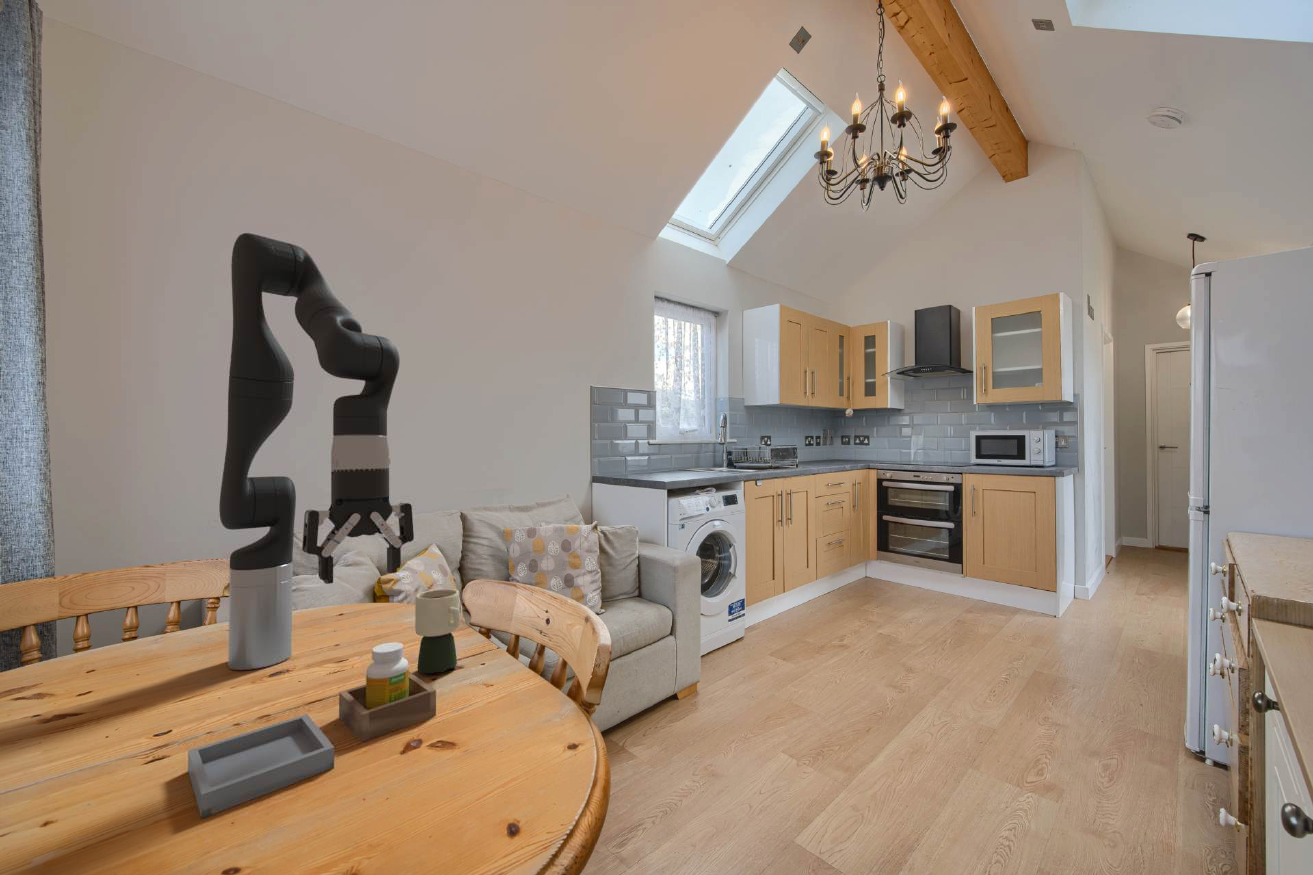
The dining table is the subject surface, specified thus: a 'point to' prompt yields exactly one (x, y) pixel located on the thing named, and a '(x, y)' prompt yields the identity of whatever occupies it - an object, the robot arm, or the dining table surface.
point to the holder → (386, 710)
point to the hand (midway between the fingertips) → (361, 577)
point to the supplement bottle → (387, 676)
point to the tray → (257, 763)
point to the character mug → (437, 628)
